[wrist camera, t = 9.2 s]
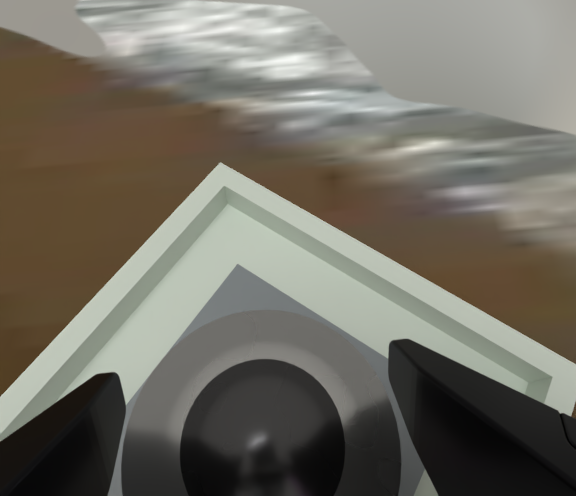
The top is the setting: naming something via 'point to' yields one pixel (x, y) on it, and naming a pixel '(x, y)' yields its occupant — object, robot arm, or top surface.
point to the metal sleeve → (262, 415)
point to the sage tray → (273, 296)
